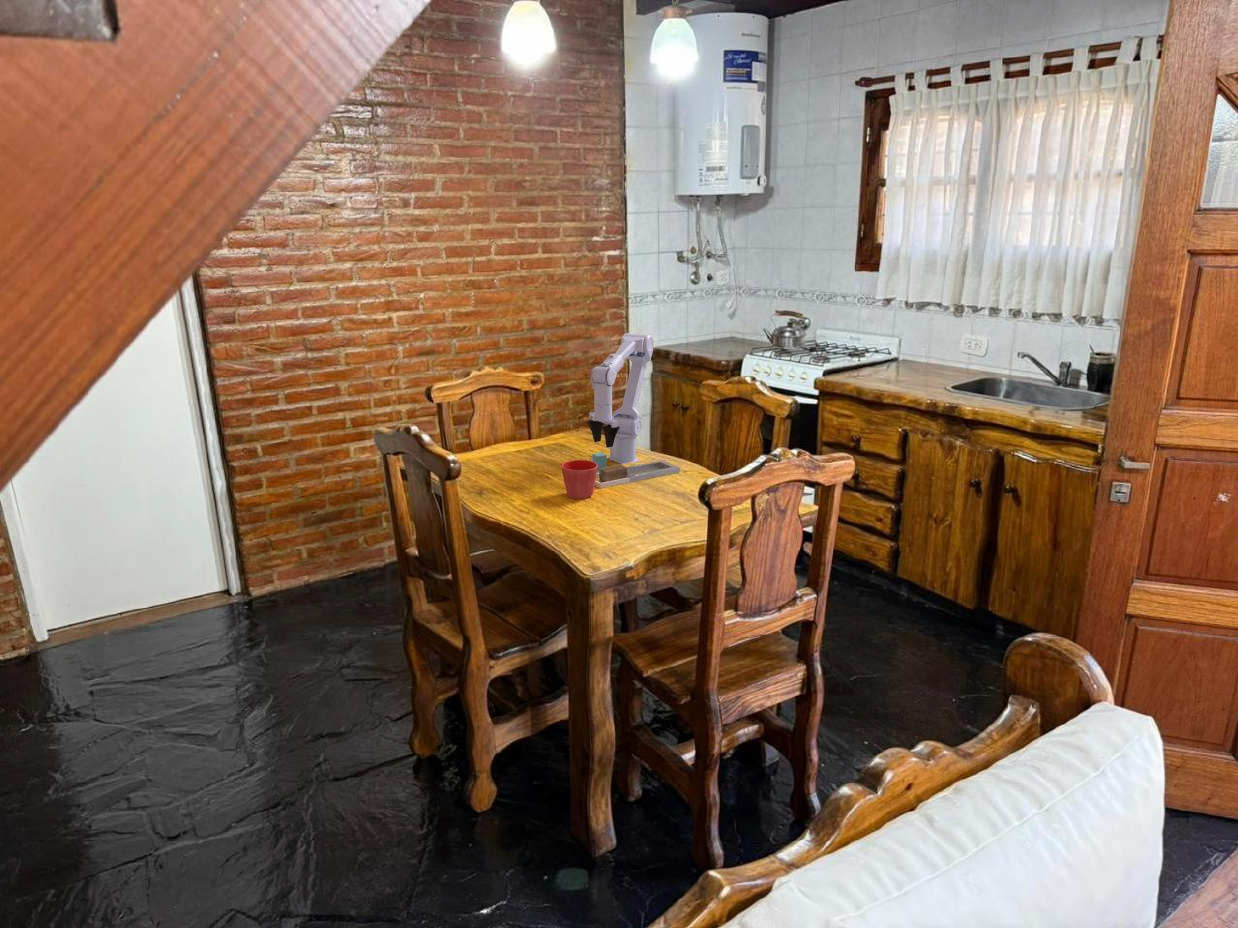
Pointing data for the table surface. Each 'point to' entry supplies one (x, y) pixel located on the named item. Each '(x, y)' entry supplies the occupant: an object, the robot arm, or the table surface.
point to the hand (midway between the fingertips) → (603, 444)
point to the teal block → (600, 460)
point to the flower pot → (579, 478)
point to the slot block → (651, 470)
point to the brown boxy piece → (607, 474)
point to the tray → (611, 482)
